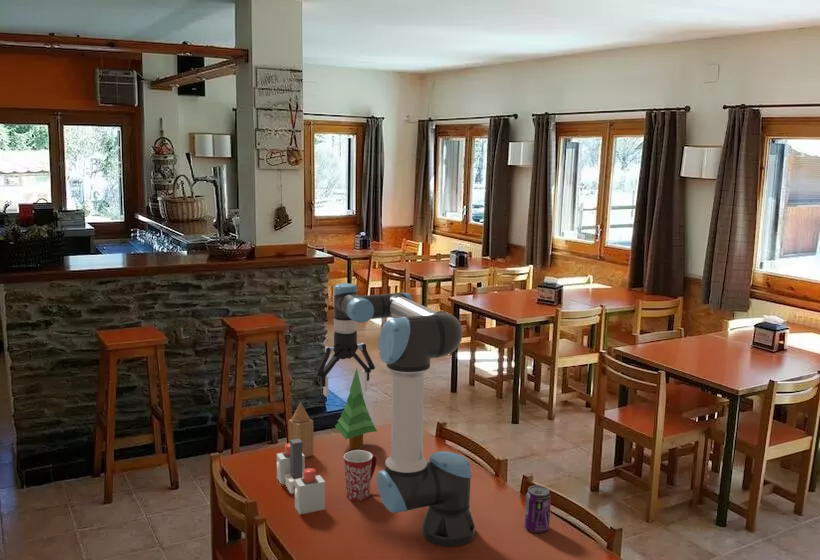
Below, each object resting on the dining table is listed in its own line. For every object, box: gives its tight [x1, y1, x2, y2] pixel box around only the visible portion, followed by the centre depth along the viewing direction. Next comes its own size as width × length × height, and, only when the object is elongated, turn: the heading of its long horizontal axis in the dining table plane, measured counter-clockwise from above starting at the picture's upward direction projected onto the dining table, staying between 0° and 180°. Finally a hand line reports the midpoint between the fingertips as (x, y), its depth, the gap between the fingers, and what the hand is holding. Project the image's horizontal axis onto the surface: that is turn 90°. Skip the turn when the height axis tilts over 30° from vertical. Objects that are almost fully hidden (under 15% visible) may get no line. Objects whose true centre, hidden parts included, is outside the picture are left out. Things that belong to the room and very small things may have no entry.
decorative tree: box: [334, 367, 378, 449], centre depth 267 cm, size 14×16×30 cm
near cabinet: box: [294, 474, 326, 515], centre depth 222 cm, size 5×8×9 cm, turn 115°
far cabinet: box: [276, 451, 306, 484], centre depth 241 cm, size 5×8×9 cm, turn 115°
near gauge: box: [304, 467, 317, 483], centre depth 221 cm, size 4×4×3 cm
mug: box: [343, 449, 378, 502], centre depth 232 cm, size 13×9×14 cm
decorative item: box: [287, 401, 314, 459], centre depth 259 cm, size 7×7×20 cm
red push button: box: [284, 442, 290, 456], centre depth 239 cm, size 4×4×3 cm
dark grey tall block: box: [284, 439, 304, 495], centre depth 234 cm, size 6×6×16 cm
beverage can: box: [524, 485, 552, 533], centre depth 213 cm, size 7×7×12 cm
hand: (345, 392), depth 243 cm, fingers open, 13 cm apart
